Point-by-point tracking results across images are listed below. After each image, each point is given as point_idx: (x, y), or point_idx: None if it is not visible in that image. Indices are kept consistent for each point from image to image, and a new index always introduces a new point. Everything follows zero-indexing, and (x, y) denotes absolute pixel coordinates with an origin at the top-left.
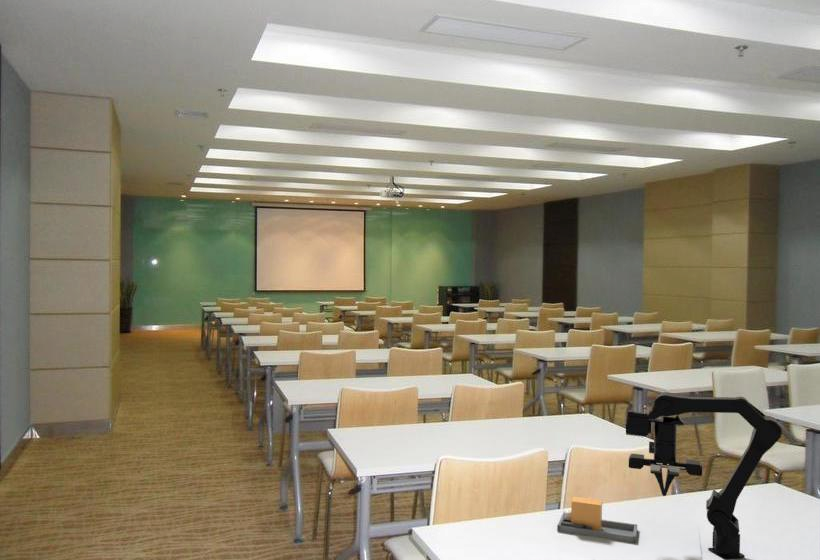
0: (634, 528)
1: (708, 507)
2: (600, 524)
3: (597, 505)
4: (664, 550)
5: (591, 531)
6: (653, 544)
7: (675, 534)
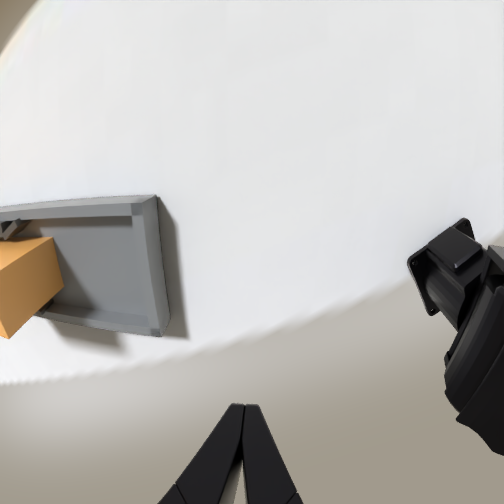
0: (139, 254)
1: (465, 422)
2: (47, 294)
3: (3, 335)
4: (261, 311)
5: (49, 317)
6: (223, 274)
7: (310, 130)
